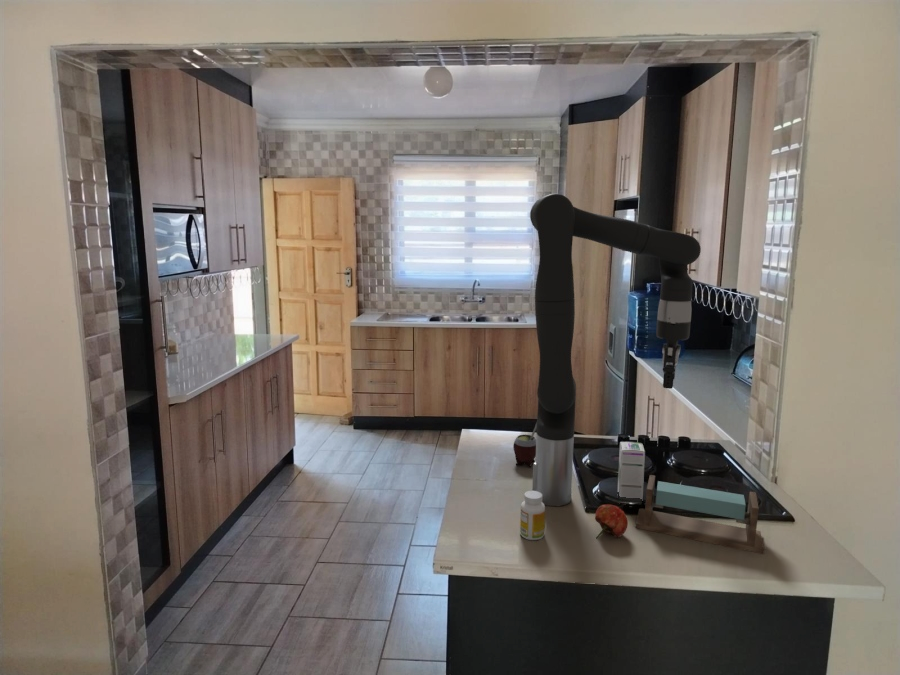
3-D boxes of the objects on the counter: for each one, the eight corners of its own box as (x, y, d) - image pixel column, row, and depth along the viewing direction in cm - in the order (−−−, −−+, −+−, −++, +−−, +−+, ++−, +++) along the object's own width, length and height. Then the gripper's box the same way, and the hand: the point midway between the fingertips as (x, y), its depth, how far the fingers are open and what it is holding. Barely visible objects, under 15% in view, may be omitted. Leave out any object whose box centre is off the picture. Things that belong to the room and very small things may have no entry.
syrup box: (642, 506, 141) (646, 451, 138) (617, 503, 142) (621, 449, 139) (639, 495, 147) (643, 442, 144) (616, 493, 148) (619, 440, 145)
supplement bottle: (546, 530, 130) (547, 491, 128) (541, 542, 125) (543, 501, 123) (522, 526, 132) (523, 487, 130) (517, 538, 127) (518, 498, 125)
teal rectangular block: (655, 504, 130) (656, 490, 129) (656, 494, 134) (658, 481, 133) (743, 519, 123) (745, 505, 122) (742, 509, 127) (743, 495, 127)
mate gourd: (508, 461, 168) (509, 412, 165) (531, 456, 171) (532, 409, 168) (522, 470, 161) (523, 420, 158) (545, 466, 164) (547, 416, 162)
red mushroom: (613, 555, 124) (644, 523, 126) (595, 533, 122) (626, 500, 124) (594, 541, 131) (624, 510, 133) (577, 520, 129) (607, 489, 131)
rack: (635, 527, 131) (638, 487, 129) (639, 511, 138) (641, 473, 136) (763, 553, 121) (768, 510, 119) (760, 535, 128) (764, 494, 126)
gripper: (659, 313, 145) (655, 375, 148) (655, 322, 132) (650, 389, 135) (691, 315, 142) (686, 378, 145) (690, 324, 129) (684, 393, 132)
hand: (668, 383), depth 140 cm, fingers open, 8 cm apart
